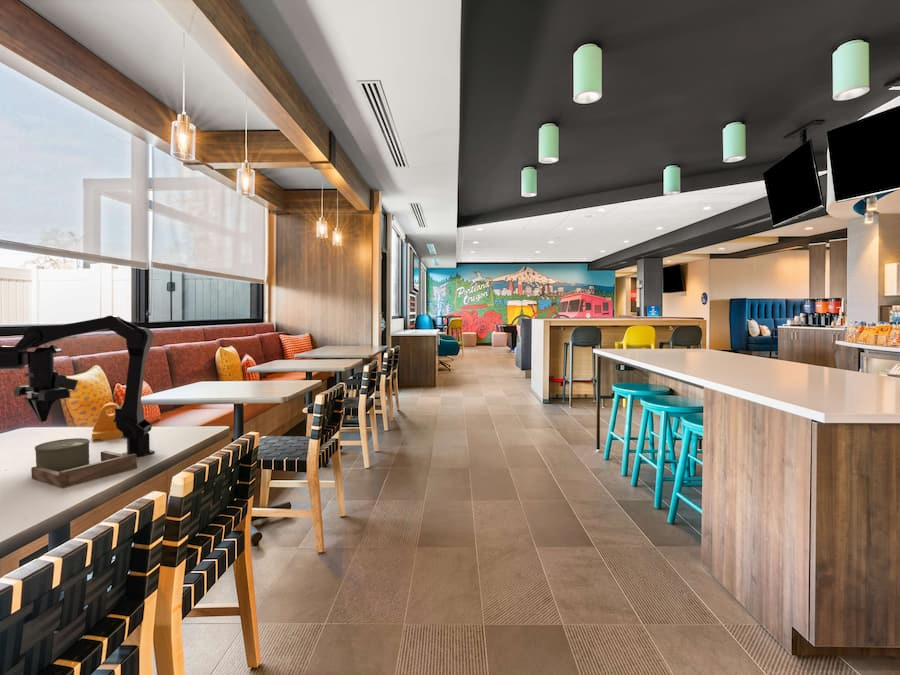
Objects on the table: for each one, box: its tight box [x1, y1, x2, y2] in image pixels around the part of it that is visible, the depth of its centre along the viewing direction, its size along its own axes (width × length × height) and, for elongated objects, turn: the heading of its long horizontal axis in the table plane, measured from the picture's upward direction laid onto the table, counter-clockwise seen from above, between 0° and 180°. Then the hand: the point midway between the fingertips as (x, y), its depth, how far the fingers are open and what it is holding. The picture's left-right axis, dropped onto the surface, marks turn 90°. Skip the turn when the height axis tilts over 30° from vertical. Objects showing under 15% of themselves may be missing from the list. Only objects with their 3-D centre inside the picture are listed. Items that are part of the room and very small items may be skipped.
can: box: [34, 437, 91, 472], centre depth 132 cm, size 12×12×7 cm
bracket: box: [91, 402, 124, 441], centre depth 165 cm, size 11×7×12 cm, turn 126°
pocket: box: [30, 450, 138, 489], centre depth 127 cm, size 15×18×4 cm
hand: (42, 421), depth 137 cm, fingers closed
